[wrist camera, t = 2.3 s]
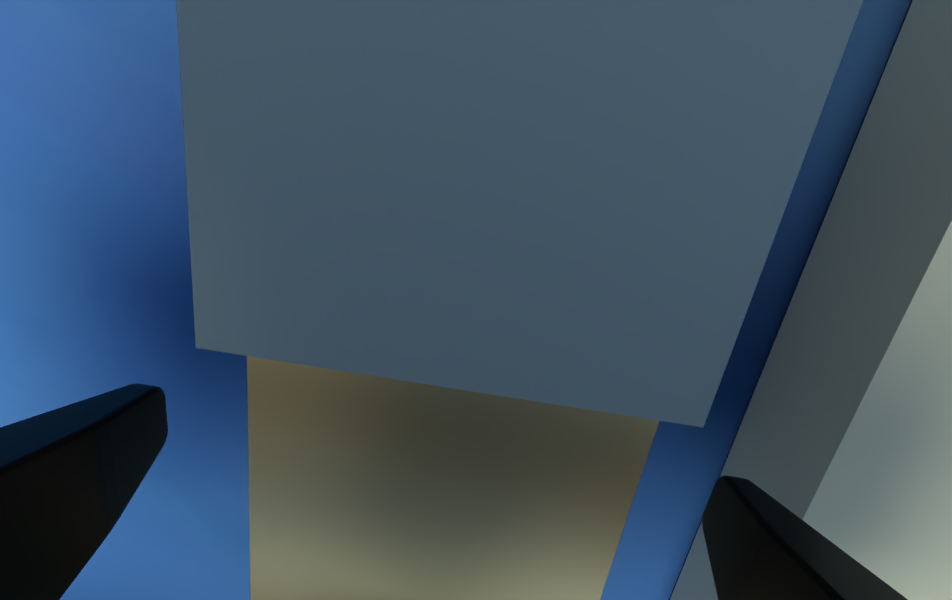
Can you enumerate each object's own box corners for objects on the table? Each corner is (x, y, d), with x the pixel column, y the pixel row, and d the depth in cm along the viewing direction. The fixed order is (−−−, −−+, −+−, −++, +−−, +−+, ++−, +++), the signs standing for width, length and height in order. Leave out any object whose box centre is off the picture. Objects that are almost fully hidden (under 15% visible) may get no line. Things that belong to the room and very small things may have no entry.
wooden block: (515, 630, 17) (519, 841, 12) (323, 601, 17) (253, 801, 12) (722, -173, 9) (944, -436, 4) (372, -232, 9) (233, -558, 4)
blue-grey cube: (611, 265, 7) (702, 426, 4) (340, 222, 7) (195, 347, 4) (692, -51, 6) (948, -232, 2) (359, -106, 6) (155, -367, 2)
